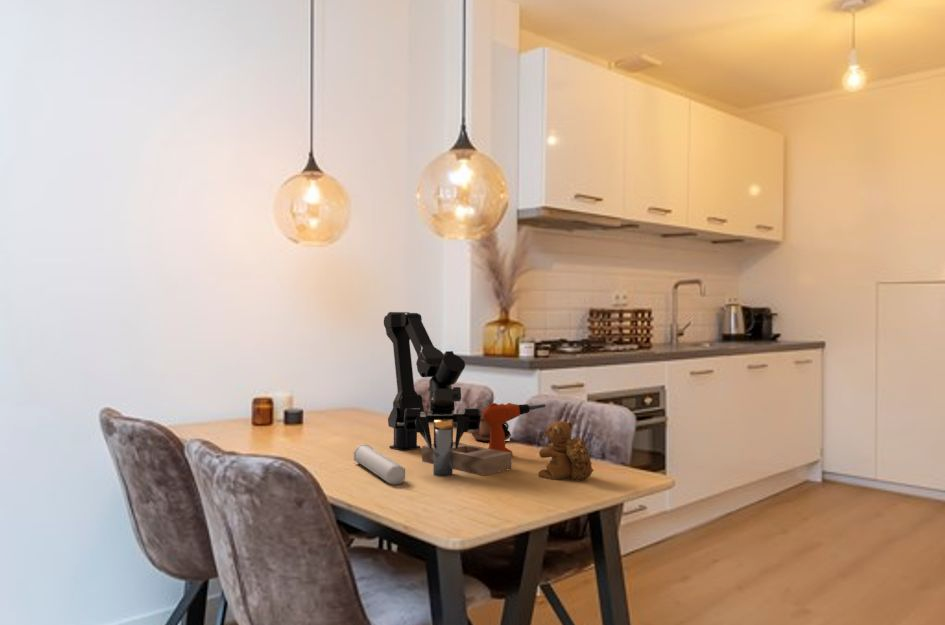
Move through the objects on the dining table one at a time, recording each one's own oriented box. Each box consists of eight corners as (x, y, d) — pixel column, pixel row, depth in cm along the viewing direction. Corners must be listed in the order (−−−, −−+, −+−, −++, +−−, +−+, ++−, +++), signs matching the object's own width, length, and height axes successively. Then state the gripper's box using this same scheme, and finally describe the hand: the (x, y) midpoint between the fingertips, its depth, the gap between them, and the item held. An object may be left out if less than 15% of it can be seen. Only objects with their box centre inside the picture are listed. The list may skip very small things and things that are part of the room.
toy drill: (553, 450, 188) (547, 396, 188) (488, 462, 183) (481, 406, 183) (546, 446, 193) (541, 393, 192) (482, 458, 188) (476, 404, 187)
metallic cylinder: (429, 474, 165) (429, 420, 165) (443, 471, 169) (443, 418, 169) (442, 477, 162) (443, 422, 162) (456, 474, 165) (457, 420, 165)
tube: (412, 467, 155) (376, 446, 178) (391, 462, 153) (357, 441, 175) (405, 490, 155) (369, 466, 177) (384, 485, 152) (350, 462, 175)
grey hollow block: (422, 461, 179) (422, 445, 179) (449, 455, 187) (449, 440, 187) (484, 475, 164) (484, 458, 164) (511, 469, 171) (511, 453, 171)
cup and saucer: (488, 435, 219) (488, 416, 219) (518, 440, 212) (518, 420, 212) (463, 440, 210) (463, 420, 210) (494, 445, 202) (494, 424, 202)
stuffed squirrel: (558, 469, 172) (559, 416, 172) (604, 479, 162) (605, 423, 162) (531, 475, 165) (532, 420, 165) (577, 486, 155) (578, 428, 155)
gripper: (404, 375, 168) (405, 428, 157) (480, 375, 170) (485, 427, 159) (403, 403, 176) (404, 455, 165) (476, 403, 178) (481, 454, 167)
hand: (443, 447), depth 164 cm, fingers open, 6 cm apart
